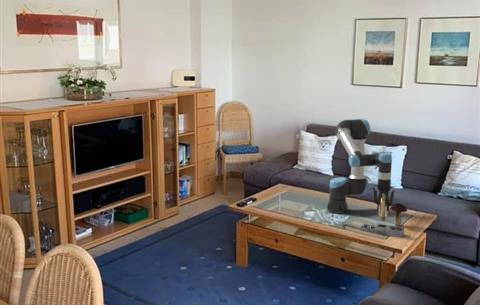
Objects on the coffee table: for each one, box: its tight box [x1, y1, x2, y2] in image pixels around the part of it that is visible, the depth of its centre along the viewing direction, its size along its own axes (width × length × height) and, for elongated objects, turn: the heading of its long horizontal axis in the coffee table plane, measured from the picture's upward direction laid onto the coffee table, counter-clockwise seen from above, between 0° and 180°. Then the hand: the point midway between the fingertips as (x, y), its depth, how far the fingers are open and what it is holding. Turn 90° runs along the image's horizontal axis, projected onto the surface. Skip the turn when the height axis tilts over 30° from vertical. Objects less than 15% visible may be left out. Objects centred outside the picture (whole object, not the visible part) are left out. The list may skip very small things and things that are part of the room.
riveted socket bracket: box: [360, 223, 405, 238], centre depth 309 cm, size 25×7×5 cm, turn 57°
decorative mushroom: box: [389, 202, 408, 227], centre depth 319 cm, size 11×11×15 cm
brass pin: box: [379, 195, 387, 222], centre depth 306 cm, size 4×4×15 cm
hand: (382, 215), depth 307 cm, fingers closed on brass pin, 3 cm apart
